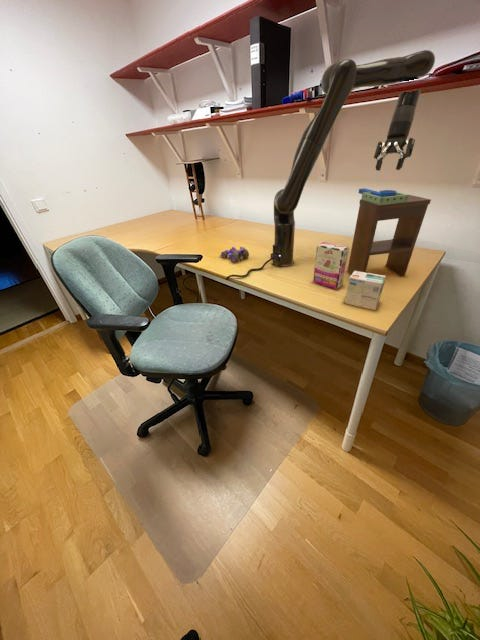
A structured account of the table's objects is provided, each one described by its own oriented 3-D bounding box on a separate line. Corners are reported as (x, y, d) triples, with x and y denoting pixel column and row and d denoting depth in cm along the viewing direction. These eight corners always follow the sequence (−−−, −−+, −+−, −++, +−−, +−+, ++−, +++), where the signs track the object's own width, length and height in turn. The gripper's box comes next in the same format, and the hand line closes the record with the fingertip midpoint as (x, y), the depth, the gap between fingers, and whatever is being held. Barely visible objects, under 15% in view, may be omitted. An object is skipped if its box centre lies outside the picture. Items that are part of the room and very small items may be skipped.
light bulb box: (379, 302, 93) (387, 275, 87) (375, 311, 88) (383, 283, 82) (348, 295, 98) (354, 269, 92) (343, 303, 94) (349, 276, 87)
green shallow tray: (406, 202, 89) (408, 194, 88) (379, 205, 88) (381, 197, 87) (385, 196, 99) (387, 189, 98) (361, 199, 98) (362, 192, 97)
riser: (405, 276, 107) (431, 199, 90) (360, 282, 106) (378, 205, 88) (387, 265, 117) (407, 194, 100) (346, 271, 115) (359, 199, 98)
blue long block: (397, 200, 90) (399, 191, 88) (384, 201, 90) (386, 193, 88) (366, 192, 106) (368, 184, 104) (355, 193, 106) (356, 185, 104)
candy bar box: (342, 285, 105) (350, 246, 95) (336, 290, 102) (343, 250, 93) (318, 278, 112) (323, 241, 102) (312, 282, 109) (316, 244, 99)
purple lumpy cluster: (230, 252, 145) (229, 241, 141) (249, 258, 136) (248, 246, 132) (217, 257, 140) (216, 246, 136) (236, 264, 131) (235, 252, 127)
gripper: (378, 123, 103) (367, 169, 110) (416, 116, 93) (400, 168, 99) (388, 127, 107) (376, 171, 114) (425, 121, 97) (409, 170, 104)
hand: (387, 170), depth 107 cm, fingers open, 8 cm apart
